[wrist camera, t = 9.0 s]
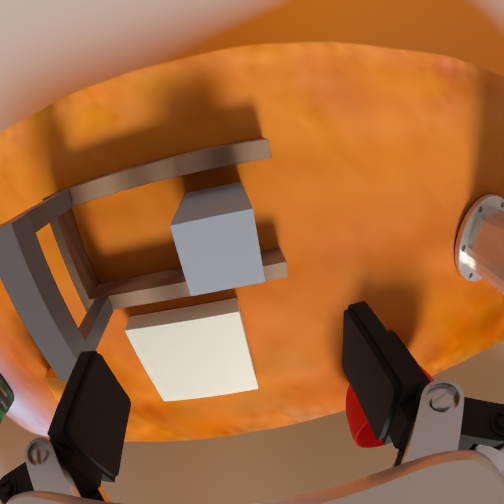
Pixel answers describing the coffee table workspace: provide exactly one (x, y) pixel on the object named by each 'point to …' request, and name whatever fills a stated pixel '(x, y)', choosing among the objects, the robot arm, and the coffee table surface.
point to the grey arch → (46, 290)
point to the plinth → (194, 350)
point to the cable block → (217, 239)
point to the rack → (195, 161)
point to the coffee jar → (5, 398)
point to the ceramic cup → (362, 420)
